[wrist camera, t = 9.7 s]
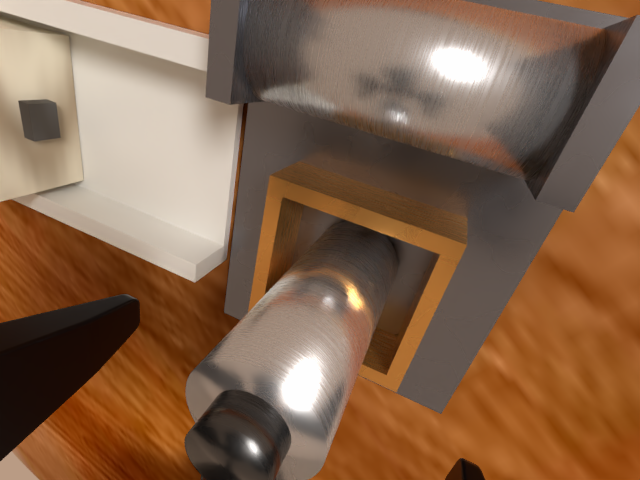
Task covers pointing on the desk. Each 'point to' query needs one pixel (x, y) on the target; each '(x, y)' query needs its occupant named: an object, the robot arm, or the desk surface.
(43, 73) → the pale wooden block
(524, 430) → the desk surface
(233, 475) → the capped metal canister
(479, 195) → the grey metal holder
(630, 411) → the desk surface
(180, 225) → the bay
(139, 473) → the desk surface
